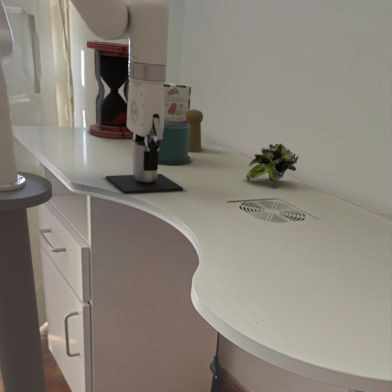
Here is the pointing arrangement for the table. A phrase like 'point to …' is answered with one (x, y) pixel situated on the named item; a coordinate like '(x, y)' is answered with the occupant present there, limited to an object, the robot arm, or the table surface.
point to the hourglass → (111, 89)
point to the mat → (143, 184)
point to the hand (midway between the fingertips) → (145, 165)
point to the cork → (194, 129)
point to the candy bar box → (176, 101)
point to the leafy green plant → (272, 162)
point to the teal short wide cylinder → (174, 143)
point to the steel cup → (141, 164)
